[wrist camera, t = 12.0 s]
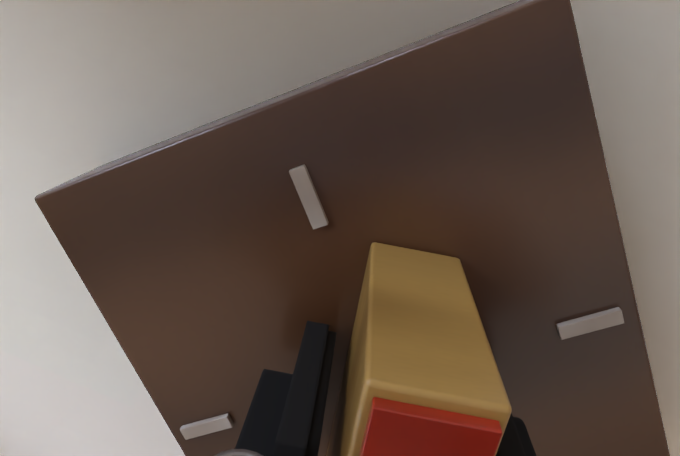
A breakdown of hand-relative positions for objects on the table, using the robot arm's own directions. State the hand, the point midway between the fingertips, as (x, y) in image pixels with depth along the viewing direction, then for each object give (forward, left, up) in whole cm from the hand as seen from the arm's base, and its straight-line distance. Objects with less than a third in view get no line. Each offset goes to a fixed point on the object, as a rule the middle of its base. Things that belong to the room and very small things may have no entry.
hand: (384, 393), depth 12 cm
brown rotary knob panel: (0, 0, -4) cm, 4 cm away
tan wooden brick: (0, 0, -1) cm, 1 cm away
